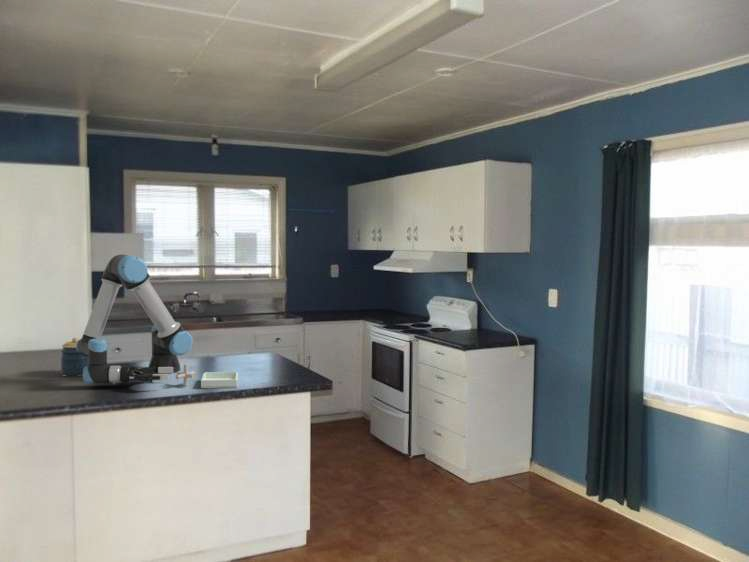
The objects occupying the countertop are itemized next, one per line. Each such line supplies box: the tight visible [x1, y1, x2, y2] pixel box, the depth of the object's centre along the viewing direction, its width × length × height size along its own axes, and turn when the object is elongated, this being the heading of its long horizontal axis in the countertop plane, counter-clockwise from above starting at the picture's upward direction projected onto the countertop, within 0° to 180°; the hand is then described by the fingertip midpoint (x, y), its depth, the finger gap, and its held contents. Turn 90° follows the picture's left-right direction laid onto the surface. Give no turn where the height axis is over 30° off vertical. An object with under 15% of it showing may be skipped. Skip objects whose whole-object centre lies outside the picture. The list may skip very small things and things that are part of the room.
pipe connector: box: [175, 363, 196, 387], centre depth 290 cm, size 10×10×10 cm
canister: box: [59, 337, 89, 377], centre depth 306 cm, size 13×13×18 cm
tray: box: [200, 371, 239, 389], centre depth 295 cm, size 16×16×4 cm
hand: (170, 373), depth 288 cm, fingers open, 13 cm apart
